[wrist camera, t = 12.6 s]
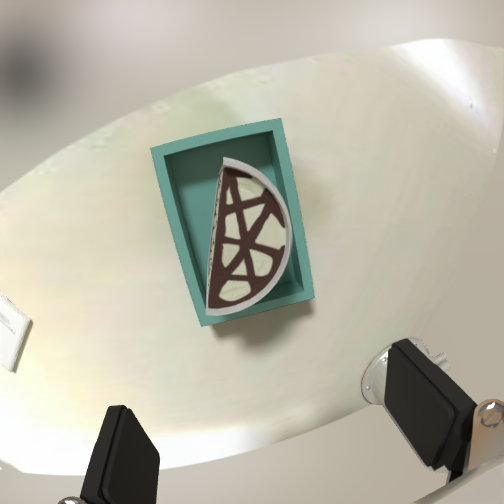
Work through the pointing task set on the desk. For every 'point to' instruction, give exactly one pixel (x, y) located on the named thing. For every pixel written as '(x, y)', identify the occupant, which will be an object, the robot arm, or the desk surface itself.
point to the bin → (203, 199)
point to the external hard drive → (11, 331)
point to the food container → (245, 239)
